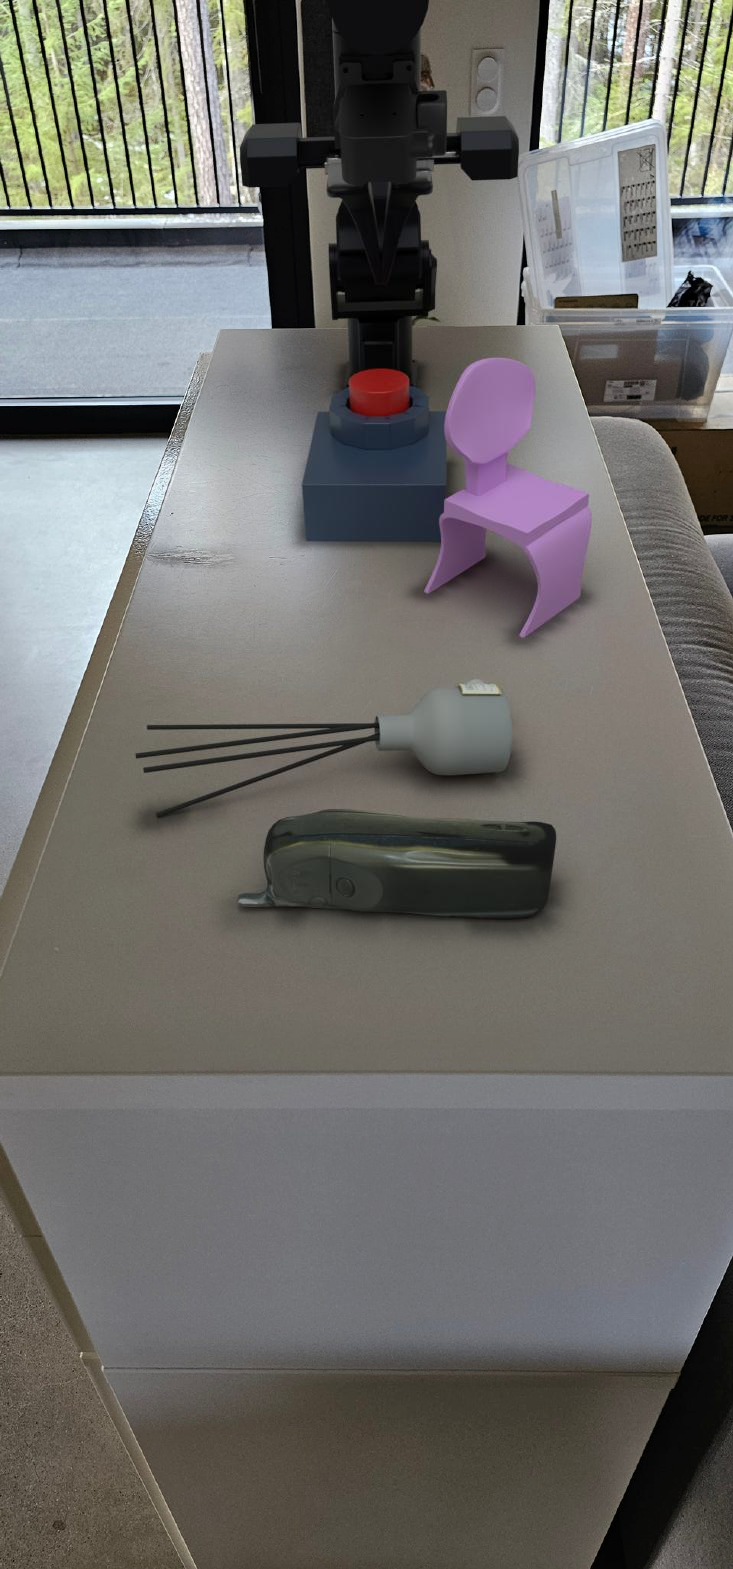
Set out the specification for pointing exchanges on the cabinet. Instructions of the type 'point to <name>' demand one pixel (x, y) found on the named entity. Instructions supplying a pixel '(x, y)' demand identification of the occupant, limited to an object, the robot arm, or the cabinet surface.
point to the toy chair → (508, 490)
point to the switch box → (376, 474)
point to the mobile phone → (407, 865)
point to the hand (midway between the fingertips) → (381, 283)
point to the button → (379, 392)
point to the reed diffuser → (389, 736)
